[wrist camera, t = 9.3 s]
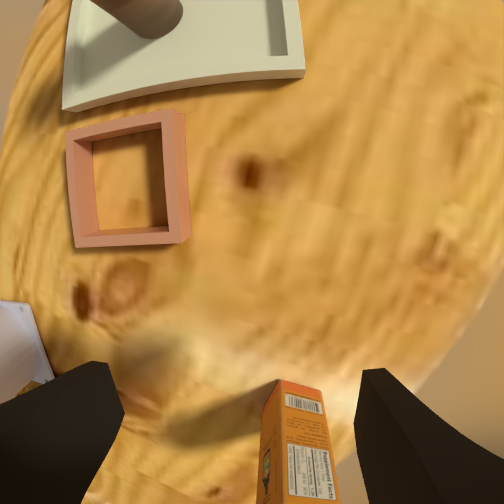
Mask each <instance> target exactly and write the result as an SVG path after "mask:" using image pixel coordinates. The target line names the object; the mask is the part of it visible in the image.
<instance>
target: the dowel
mask: <svg viewBox="0 0 504 504" xmlns="http://www.w3.org/2000/svg"><path fill="white" fill-rule="evenodd" d="M90 1H91V2H93V3H94V4H96V5H97V6H99V7H100V8H101V9H103V10H104V11H106V12H107V13H109V14H110V15H111V16H113V17H114V18H116V19H117V20H118V21H120V22H121V23H122V24H124V25H125V26H126V27H128V28H129V29H131V30H132V31H133V32H135V33H136V34H137V35H138V36H140V37H142V38H145V39H155V38H159V37H162V36H164V35H166V34H168V33H169V32H171V31H172V30H173V29H174V28H175V27H176V26H177V25H178V24H179V22H180V20H181V18H182V15H183V6H182V4H181V2H180V1H179V0H90Z"/></svg>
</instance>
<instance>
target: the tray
mask: <svg viewBox="0 0 504 504" xmlns="http://www.w3.org/2000/svg"><path fill="white" fill-rule="evenodd" d="M179 1H180V2H181V4H182V6H183V15H182V18H181V20H180V22H179V24H178V25H177V26H176V27H175V28H174V29H173V30H172V31H171V32H169V33H168V34H166V35H164V36H162V37H159V38H155V39H145V38H142V37H140V36H138V35H137V34H136V33H135V32H133V31H132V30H131V29H129V28H128V27H126V26H125V25H124V24H122V23H121V22H120V21H118V20H117V19H116V18H114V17H113V16H111V15H110V14H109V13H107V12H106V11H104V10H103V9H101V8H100V7H99V6H97V5H96V4H94V3H93V2H91V1H90V0H73V1H72V7H71V13H70V19H69V25H68V33H67V40H66V49H65V59H64V72H63V89H62V110H66V111H71V112H76V113H77V112H80V111H84V110H87V109H91V108H94V107H98V106H102V105H106V104H109V103H113V102H117V101H122V100H126V99H130V98H135V97H139V96H144V95H149V94H154V93H159V92H165V91H170V90H176V89H182V88H189V87H195V86H203V85H210V84H219V83H228V82H238V81H250V80H265V79H287V78H304V74H305V70H306V68H305V58H304V48H303V39H302V31H301V22H300V14H299V7H298V0H179Z"/></svg>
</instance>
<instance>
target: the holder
mask: <svg viewBox="0 0 504 504" xmlns="http://www.w3.org/2000/svg"><path fill="white" fill-rule="evenodd" d="M161 128H162V146H163V163H164V178H165V191H166V203H167V214H168V225H169V226H158V227H142V228H127V229H113V230H99V226H98V218H97V209H96V200H95V189H94V176H93V161H92V142H93V141H98V140H102V139H107V138H111V137H116V136H121V135H127V134H132V133H137V132H143V131H149V130H155V129H161ZM65 145H66V167H67V181H68V193H69V203H70V212H71V220H72V228H73V235H74V241H75V248H81V247H103V246H125V245H148V244H172V243H182V242H184V241H185V240H186V239H188V238H189V237H190V236H192V226H191V215H190V203H189V190H188V175H187V160H186V142H185V121H184V114H182V113H180V112H178V111H176V110H174V109H167V110H161V111H155V112H150V113H144V114H139V115H134V116H129V117H124V118H120V119H115V120H111V121H107V122H103V123H98V124H94V125H90V126H87V127H83V128H79V129H75V130H72V131H68V132H65Z"/></svg>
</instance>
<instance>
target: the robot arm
mask: <svg viewBox="0 0 504 504" xmlns="http://www.w3.org/2000/svg"><path fill="white" fill-rule="evenodd" d="M30 381H35V382H38V383H41V384H42V385H41V386H39V387H37V388H35V389H33V390H30V391H28V392H26V393H24V394H22V395H19V396H17V397H15V396H16V395H17V394H18V393H19V392H20V391H21V390H22V389H23V388H24V387H25V386H26V385H27V384H28V383H29V382H30ZM14 397H15V398H14ZM124 415H125V412H124V410H123V407H122V404H121V402H120V399H119V396H118V393H117V390H116V387H115V384H114V381H113V378H112V375H111V372H110V369H109V366H108V363H103V362H97V361H90V362H87V363H85V364H82V365H80V366H78V367H76V368H74V369H72V370H70V371H68V372H66V373H64V374H62V375H60V376H58V377H56V378H55V377H54V374H53V372H52V369H51V367H50V364H49V361H48V359H47V356H46V353H45V350H44V347H43V344H42V341H41V338H40V335H39V332H38V329H37V326H36V323H35V319H34V316H33V312H32V309H31V306H30V305H29V304H28V303H26V302H16V301H7V300H0V504H81V502H82V499H83V497H84V495H85V493H86V491H87V489H88V487H89V486H90V484H91V482H92V480H93V478H94V477H95V475H96V473H97V471H98V470H99V468H100V466H101V464H102V462H103V461H104V459H105V457H106V455H107V454H108V452H109V450H110V448H111V446H112V444H113V443H114V441H115V439H116V436H117V434H118V431H119V429H120V426H121V423H122V420H123V417H124ZM354 431H355V440H356V447H357V455H358V458H359V463H360V467H361V471H362V475H363V479H364V483H365V487H366V491H367V496H368V500H369V504H504V459H502V458H500V457H498V456H496V455H495V454H493V453H491V452H489V451H488V450H486V449H484V448H483V447H481V446H479V445H478V444H476V443H474V442H473V441H471V440H470V439H468V438H467V437H465V436H464V435H463V434H461V433H460V432H458V431H457V430H456V429H454V428H453V427H452V426H450V425H449V424H448V423H446V422H445V421H444V420H443V419H441V418H440V417H439V416H438V415H436V414H435V413H434V412H433V411H432V410H430V409H429V408H428V407H427V406H426V405H425V404H424V403H422V402H421V401H420V400H419V399H418V398H417V397H416V396H415V395H413V394H412V393H411V392H410V391H409V390H408V389H407V388H406V387H405V386H404V385H403V384H402V383H400V382H399V381H398V380H397V379H396V378H395V377H394V376H393V375H392V374H391V373H390V372H389V371H388V370H386V369H385V368H378V369H368V370H363V372H362V379H361V385H360V391H359V397H358V403H357V409H356V414H355V419H354Z"/></svg>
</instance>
